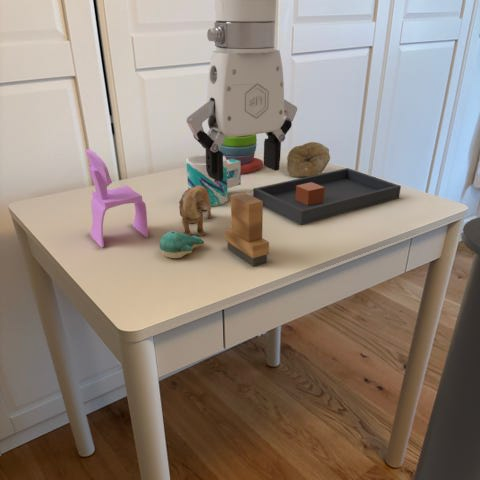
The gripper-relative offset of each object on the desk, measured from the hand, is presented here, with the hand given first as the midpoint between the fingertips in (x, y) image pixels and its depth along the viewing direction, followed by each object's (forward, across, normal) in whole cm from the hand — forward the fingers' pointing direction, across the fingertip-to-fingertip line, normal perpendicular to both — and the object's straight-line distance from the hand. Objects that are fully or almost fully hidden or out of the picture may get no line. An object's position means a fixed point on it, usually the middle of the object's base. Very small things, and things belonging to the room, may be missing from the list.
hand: (244, 173), depth 72 cm
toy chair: (+14, -14, +19) cm, 27 cm away
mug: (+13, +10, +27) cm, 32 cm away
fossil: (+13, +36, +29) cm, 48 cm away
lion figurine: (+14, 0, +14) cm, 19 cm away
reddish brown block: (+12, +24, +13) cm, 30 cm away
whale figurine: (+14, -8, +7) cm, 17 cm away
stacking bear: (+13, +26, +42) cm, 51 cm away
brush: (+13, 0, 0) cm, 13 cm away
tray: (+13, +28, +13) cm, 34 cm away
